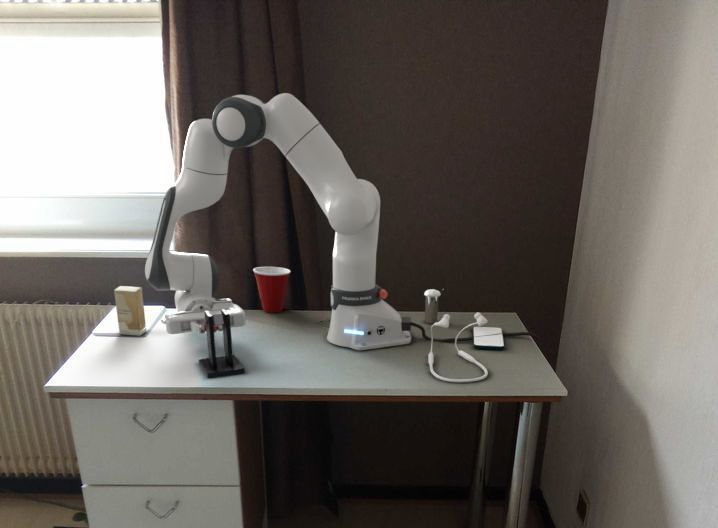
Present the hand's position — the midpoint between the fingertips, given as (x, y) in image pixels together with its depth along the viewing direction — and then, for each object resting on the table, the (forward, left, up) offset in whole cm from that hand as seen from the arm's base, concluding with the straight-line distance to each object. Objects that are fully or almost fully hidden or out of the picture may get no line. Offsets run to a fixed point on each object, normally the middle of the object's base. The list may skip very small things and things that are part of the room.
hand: (211, 329), depth 186 cm
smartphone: (-73, 0, -7) cm, 73 cm away
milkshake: (-62, -17, -8) cm, 65 cm away
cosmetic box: (+21, -23, -8) cm, 32 cm away
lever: (-1, +4, +1) cm, 4 cm away
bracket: (-1, +8, -7) cm, 11 cm away
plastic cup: (-19, -37, -8) cm, 43 cm away
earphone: (-57, +18, -8) cm, 60 cm away
